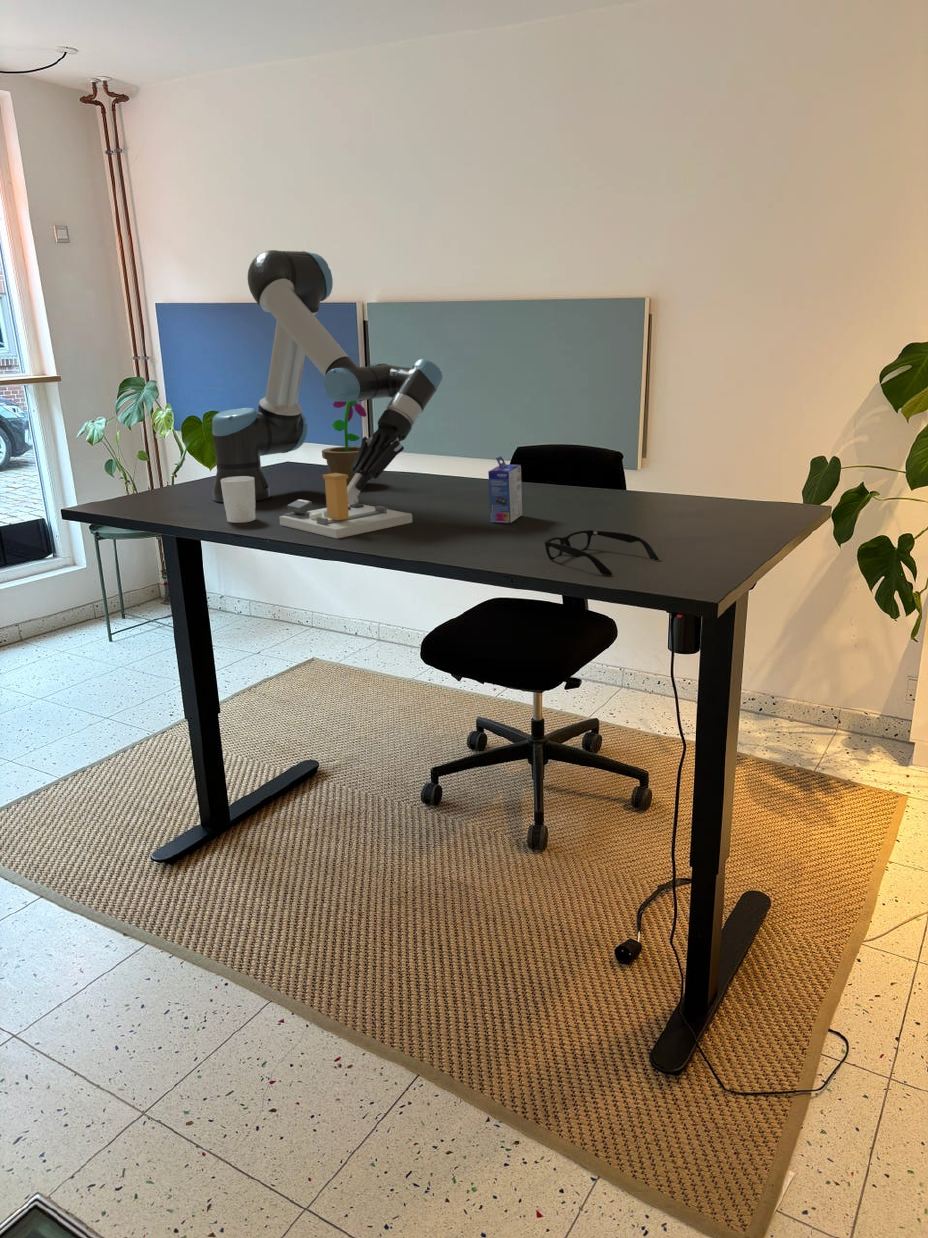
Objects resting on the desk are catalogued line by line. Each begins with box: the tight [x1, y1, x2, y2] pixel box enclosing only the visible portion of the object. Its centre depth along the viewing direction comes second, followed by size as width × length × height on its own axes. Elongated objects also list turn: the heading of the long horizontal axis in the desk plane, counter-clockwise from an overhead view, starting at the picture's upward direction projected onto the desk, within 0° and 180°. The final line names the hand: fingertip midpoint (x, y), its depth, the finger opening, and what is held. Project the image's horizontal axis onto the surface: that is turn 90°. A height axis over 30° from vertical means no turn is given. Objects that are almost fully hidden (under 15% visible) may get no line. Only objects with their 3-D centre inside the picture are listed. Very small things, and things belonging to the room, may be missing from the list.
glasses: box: [544, 529, 660, 576], centre depth 177 cm, size 17×18×5 cm
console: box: [279, 497, 413, 539], centre depth 214 cm, size 22×22×4 cm
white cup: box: [220, 476, 256, 524], centre depth 220 cm, size 8×8×10 cm
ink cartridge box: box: [487, 456, 523, 524], centre depth 214 cm, size 10×6×14 cm, turn 161°
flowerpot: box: [321, 399, 368, 486], centre depth 262 cm, size 14×14×30 cm
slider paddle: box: [322, 473, 349, 520], centre depth 206 cm, size 5×4×10 cm
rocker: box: [286, 498, 314, 513], centre depth 214 cm, size 5×4×2 cm
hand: (347, 499), depth 208 cm, fingers closed
